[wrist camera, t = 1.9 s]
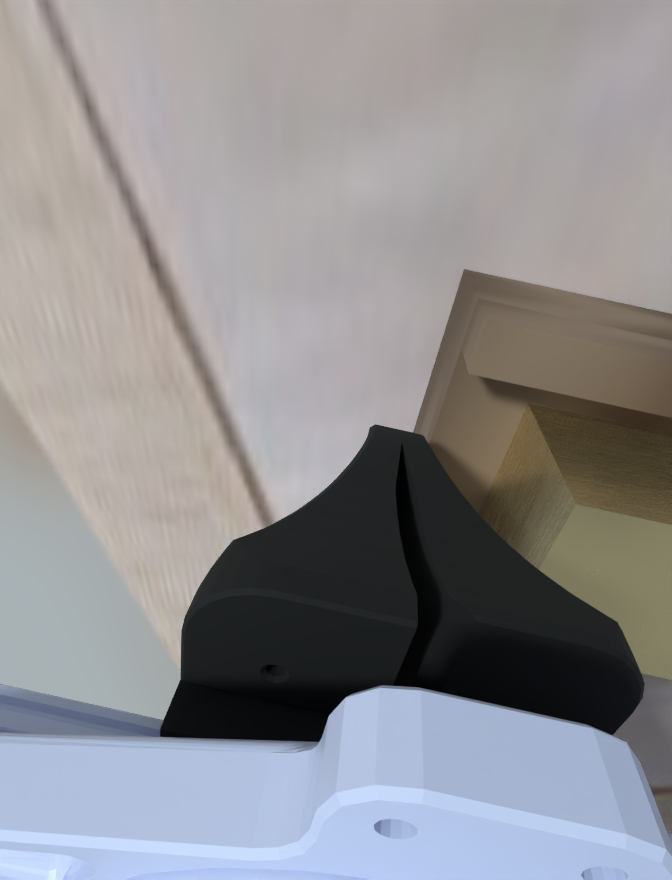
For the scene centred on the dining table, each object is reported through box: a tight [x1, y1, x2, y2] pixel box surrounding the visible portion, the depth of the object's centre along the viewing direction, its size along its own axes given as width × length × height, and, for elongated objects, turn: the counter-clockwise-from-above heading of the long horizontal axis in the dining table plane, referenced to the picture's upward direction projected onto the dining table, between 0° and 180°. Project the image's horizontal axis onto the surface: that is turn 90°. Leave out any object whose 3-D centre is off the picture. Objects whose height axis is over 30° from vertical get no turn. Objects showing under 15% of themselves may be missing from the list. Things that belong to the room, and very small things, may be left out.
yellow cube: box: [479, 403, 672, 680], centre depth 12 cm, size 4×4×4 cm
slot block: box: [413, 269, 672, 514], centre depth 14 cm, size 11×8×4 cm
